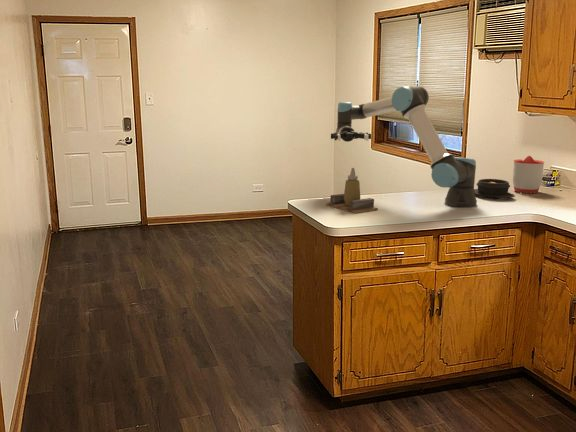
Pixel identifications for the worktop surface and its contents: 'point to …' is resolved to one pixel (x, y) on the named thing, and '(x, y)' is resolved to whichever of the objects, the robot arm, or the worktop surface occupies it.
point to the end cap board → (347, 208)
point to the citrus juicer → (527, 175)
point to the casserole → (493, 188)
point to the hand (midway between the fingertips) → (353, 137)
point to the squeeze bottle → (352, 188)
